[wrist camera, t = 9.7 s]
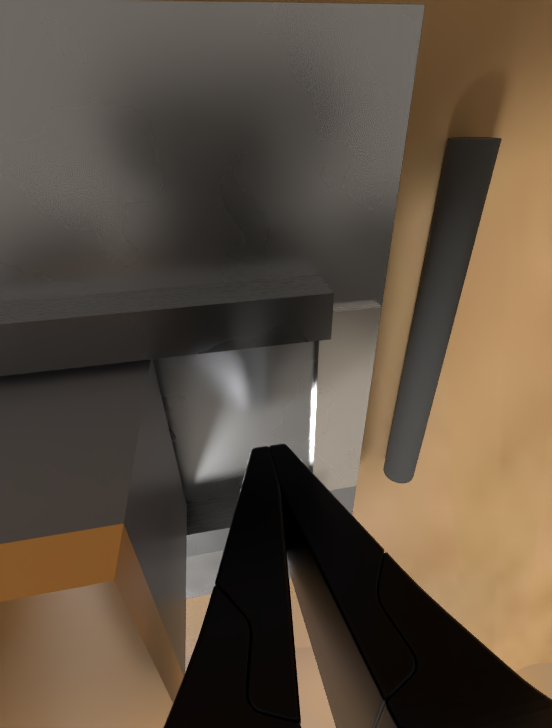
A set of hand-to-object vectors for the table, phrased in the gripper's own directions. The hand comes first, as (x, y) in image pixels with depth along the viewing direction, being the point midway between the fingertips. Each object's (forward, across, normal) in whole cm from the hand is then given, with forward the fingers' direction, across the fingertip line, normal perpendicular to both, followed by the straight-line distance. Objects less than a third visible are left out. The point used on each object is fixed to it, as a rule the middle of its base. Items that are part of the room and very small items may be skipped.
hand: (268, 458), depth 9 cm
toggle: (+1, +4, 0) cm, 4 cm away
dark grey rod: (+4, -6, 0) cm, 7 cm away
